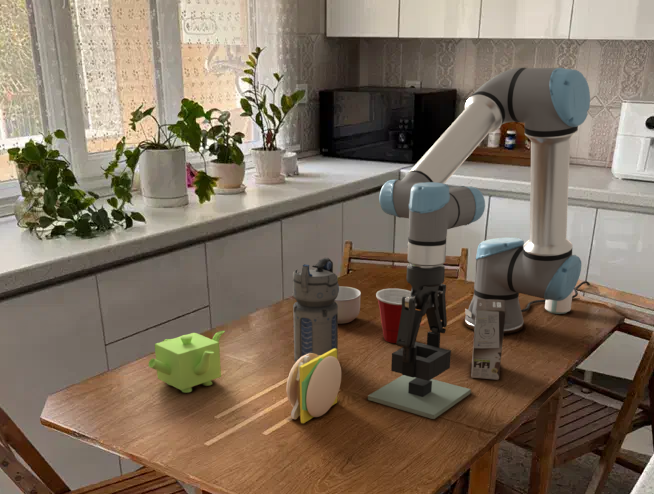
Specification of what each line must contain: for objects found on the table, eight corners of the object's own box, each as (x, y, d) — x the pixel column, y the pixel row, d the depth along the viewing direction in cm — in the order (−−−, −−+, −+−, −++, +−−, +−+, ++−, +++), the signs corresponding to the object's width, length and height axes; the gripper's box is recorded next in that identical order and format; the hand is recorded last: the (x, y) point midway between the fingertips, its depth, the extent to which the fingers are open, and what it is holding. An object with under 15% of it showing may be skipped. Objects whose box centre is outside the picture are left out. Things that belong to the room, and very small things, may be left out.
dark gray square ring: (413, 358, 170) (414, 341, 168) (450, 368, 165) (451, 350, 163) (391, 371, 163) (391, 353, 162) (428, 381, 158) (429, 362, 157)
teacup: (367, 318, 215) (368, 290, 212) (347, 329, 207) (347, 300, 204) (325, 309, 222) (325, 282, 219) (303, 320, 214) (303, 292, 210)
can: (550, 305, 225) (554, 264, 220) (573, 309, 221) (579, 268, 217) (540, 311, 220) (545, 270, 215) (564, 316, 216) (570, 274, 211)
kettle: (227, 370, 180) (224, 324, 176) (221, 396, 167) (218, 347, 163) (162, 371, 180) (157, 325, 175) (150, 397, 167) (145, 347, 162)
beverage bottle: (348, 357, 188) (349, 255, 178) (324, 377, 177) (324, 269, 167) (311, 351, 192) (310, 250, 182) (285, 369, 181) (282, 263, 171)
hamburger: (313, 395, 167) (313, 343, 162) (346, 405, 163) (346, 351, 158) (279, 416, 158) (277, 360, 153) (312, 426, 154) (312, 369, 149)
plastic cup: (396, 350, 192) (398, 303, 188) (366, 339, 200) (366, 293, 195) (426, 340, 199) (428, 294, 194) (395, 329, 206) (397, 285, 202)
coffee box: (499, 380, 175) (506, 311, 168) (470, 378, 176) (475, 309, 170) (499, 365, 183) (505, 299, 177) (471, 363, 184) (477, 297, 178)
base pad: (407, 376, 177) (407, 362, 176) (470, 393, 168) (472, 378, 167) (367, 399, 165) (367, 384, 164) (433, 419, 157) (434, 403, 155)
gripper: (436, 250, 165) (431, 350, 174) (380, 271, 149) (377, 380, 158) (468, 255, 161) (461, 357, 170) (413, 278, 145) (408, 389, 154)
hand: (420, 368), depth 164 cm, fingers closed on dark gray square ring, 9 cm apart
